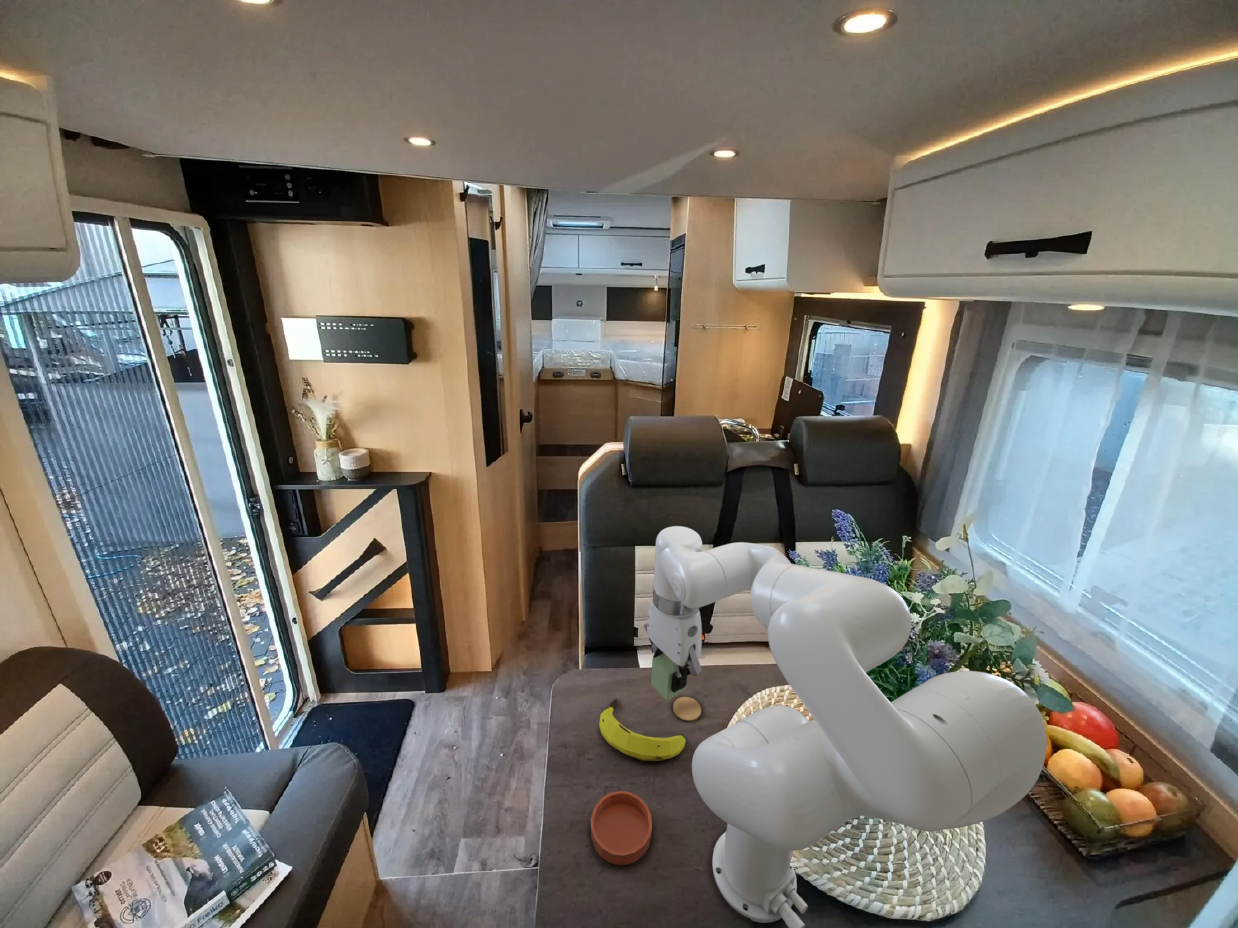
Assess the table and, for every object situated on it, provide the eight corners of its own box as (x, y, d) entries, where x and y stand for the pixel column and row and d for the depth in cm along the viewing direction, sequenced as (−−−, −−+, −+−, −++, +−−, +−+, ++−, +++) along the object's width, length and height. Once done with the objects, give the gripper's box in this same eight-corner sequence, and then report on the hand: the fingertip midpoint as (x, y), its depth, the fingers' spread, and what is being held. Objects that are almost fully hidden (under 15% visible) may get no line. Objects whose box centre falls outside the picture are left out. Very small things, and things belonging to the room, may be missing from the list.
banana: (690, 750, 90) (681, 695, 104) (598, 743, 90) (601, 689, 104) (688, 770, 91) (679, 713, 105) (596, 764, 90) (600, 708, 105)
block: (685, 689, 89) (688, 664, 87) (666, 700, 86) (668, 675, 84) (669, 673, 92) (671, 648, 90) (650, 683, 90) (652, 658, 88)
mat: (706, 712, 103) (707, 711, 102) (685, 725, 99) (685, 724, 99) (688, 693, 107) (688, 692, 107) (667, 705, 104) (667, 704, 104)
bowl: (663, 842, 79) (664, 830, 78) (611, 881, 74) (611, 869, 72) (629, 791, 87) (629, 779, 86) (579, 823, 81) (579, 811, 80)
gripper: (727, 616, 78) (716, 700, 84) (660, 566, 90) (655, 643, 97) (693, 634, 74) (685, 721, 80) (628, 579, 86) (625, 658, 93)
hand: (669, 677), depth 89 cm, fingers closed on block, 4 cm apart
